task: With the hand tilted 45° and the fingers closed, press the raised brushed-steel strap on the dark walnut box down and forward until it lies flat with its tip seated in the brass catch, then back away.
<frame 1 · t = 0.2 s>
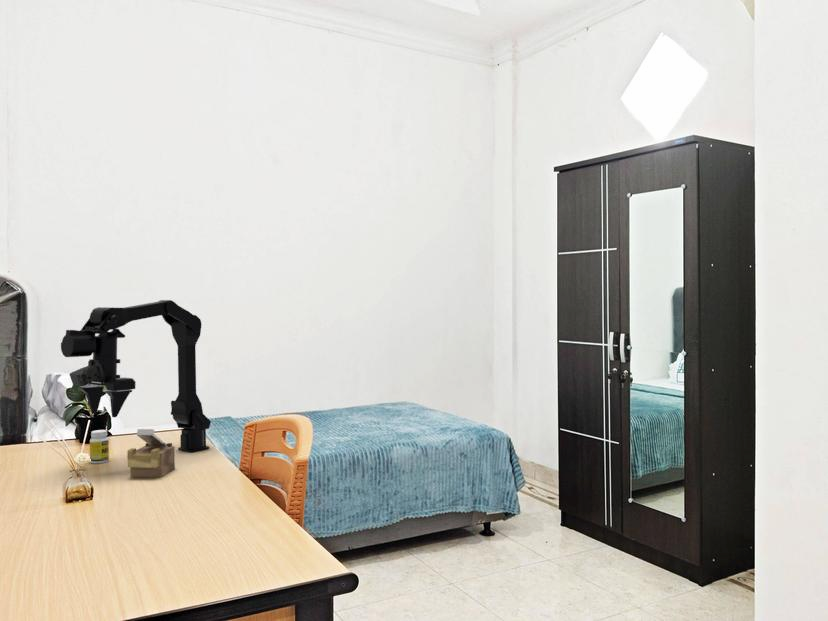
hand: (104, 415, 178), 14 cm above the table, tool pointing down, fingers open, 9 cm apart
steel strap: (152, 438, 175), point 9 cm above the table, hinge at 30.0°
walnut box: (153, 472, 176), on the table
supplement bottle: (99, 462, 188), on the table
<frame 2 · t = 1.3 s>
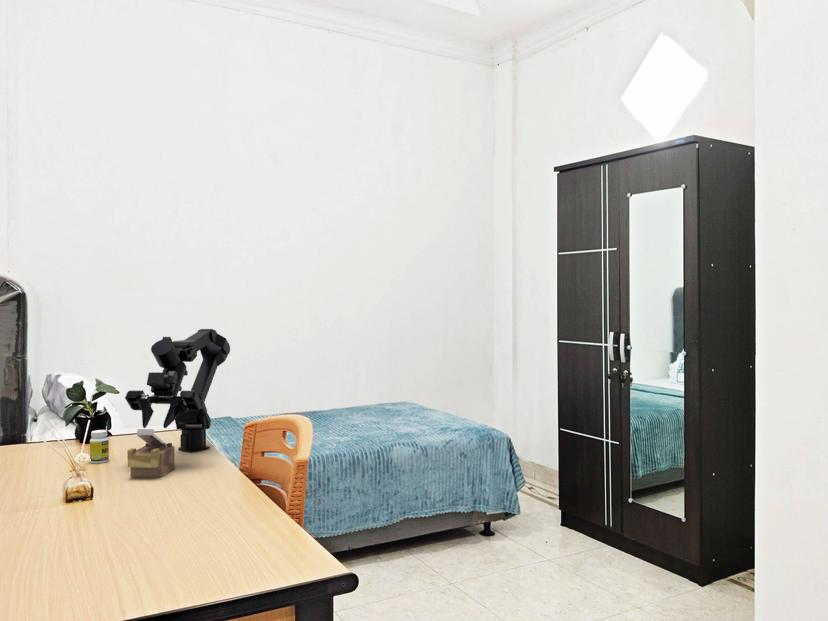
hand: (154, 427, 176), 12 cm above the table, tool tilted 45°, fingers open, 5 cm apart
nothing on the table moved.
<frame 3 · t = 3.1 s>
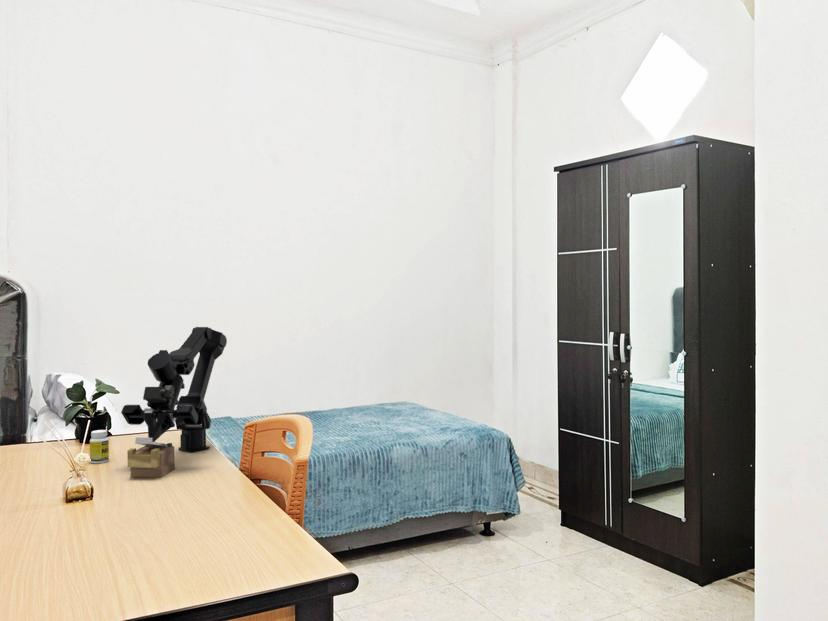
hand: (150, 442, 174), 8 cm above the table, tool tilted 45°, fingers closed, pressing on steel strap
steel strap: (151, 442, 175), point 8 cm above the table, hinge at 16.4°, touching gripper
everything else where it was.
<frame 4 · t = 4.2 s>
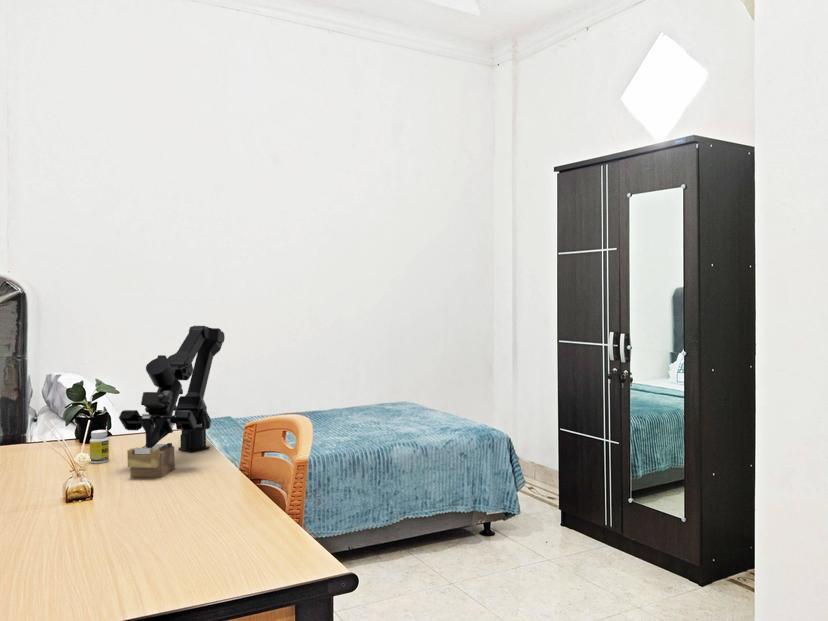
hand: (148, 448, 173), 7 cm above the table, tool tilted 45°, fingers closed, pressing on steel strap
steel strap: (151, 447, 174), point 7 cm above the table, hinge at 0.6°, touching gripper
everything else where it was.
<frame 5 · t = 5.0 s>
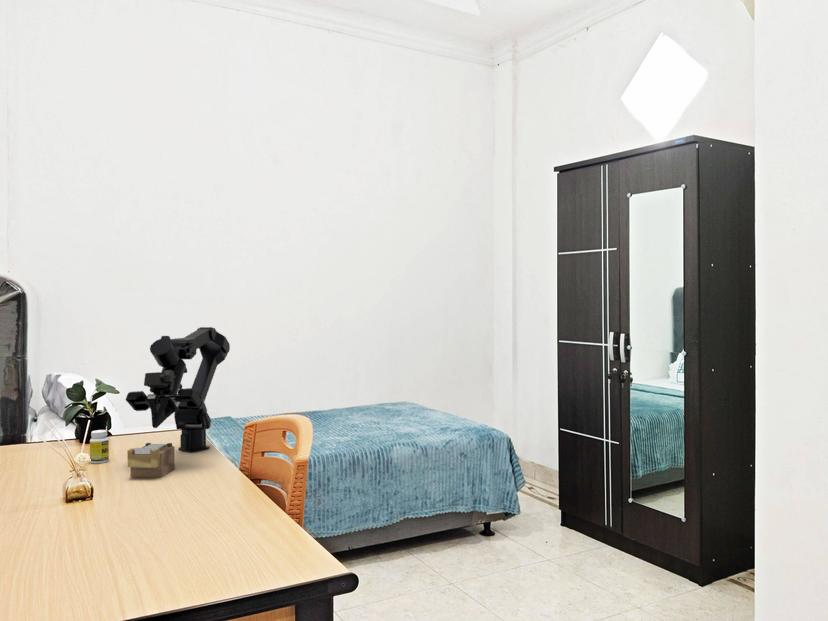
hand: (154, 427, 177), 11 cm above the table, tool tilted 40°, fingers closed
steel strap: (151, 447, 174), point 7 cm above the table, hinge at 0.5°
everything else where it was.
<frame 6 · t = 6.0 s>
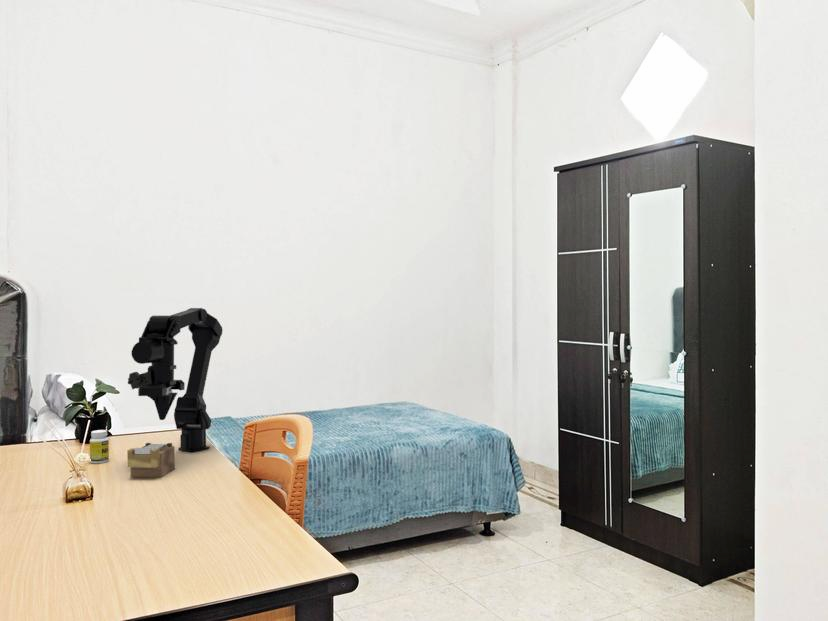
hand: (162, 419, 185), 12 cm above the table, tool pointing down, fingers closed
nothing on the table moved.
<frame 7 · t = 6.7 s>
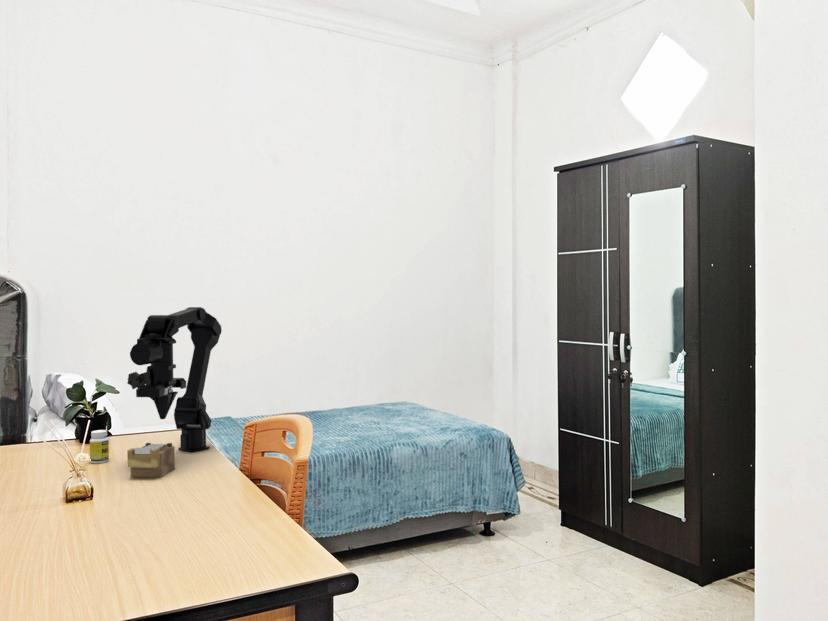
hand: (162, 419, 185), 12 cm above the table, tool pointing down, fingers closed
nothing on the table moved.
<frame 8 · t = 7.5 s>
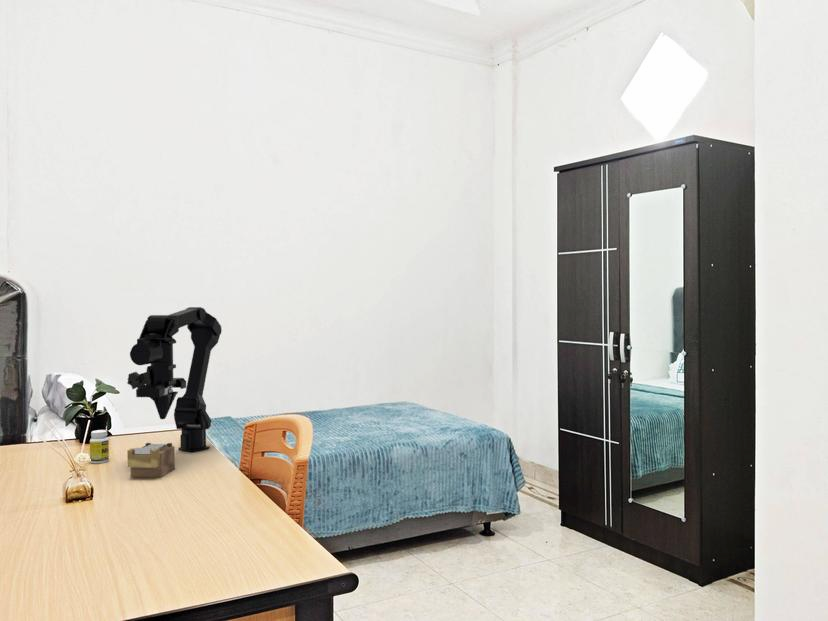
hand: (162, 419, 185), 12 cm above the table, tool pointing down, fingers closed
nothing on the table moved.
at the end: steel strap at +0° (first picture: +30°); supplement bottle moved 0.2 cm from its start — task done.
